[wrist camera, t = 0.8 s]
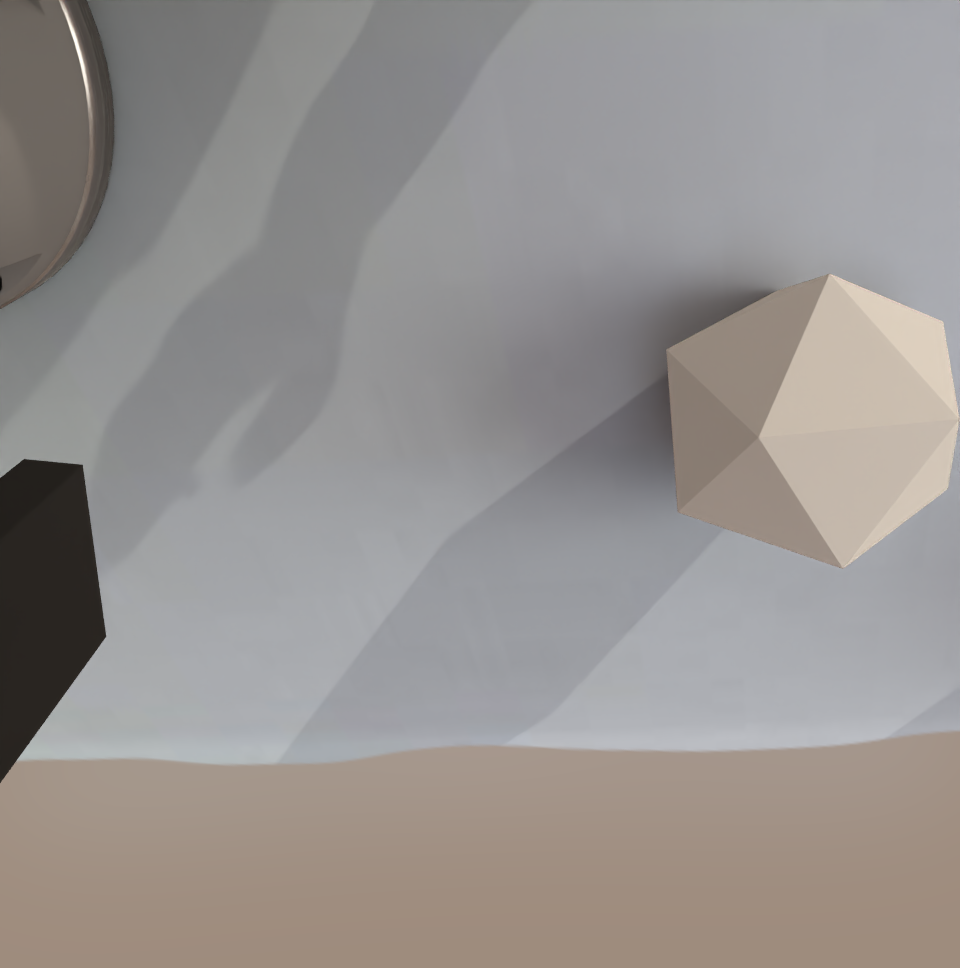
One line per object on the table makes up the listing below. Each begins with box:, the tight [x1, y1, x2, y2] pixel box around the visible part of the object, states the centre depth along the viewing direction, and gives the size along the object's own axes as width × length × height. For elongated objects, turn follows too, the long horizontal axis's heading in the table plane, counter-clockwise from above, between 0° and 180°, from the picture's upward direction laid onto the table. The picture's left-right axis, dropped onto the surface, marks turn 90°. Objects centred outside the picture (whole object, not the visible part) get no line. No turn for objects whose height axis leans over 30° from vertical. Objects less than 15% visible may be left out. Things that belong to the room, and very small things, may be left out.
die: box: [666, 274, 959, 569], centre depth 27 cm, size 8×9×10 cm
